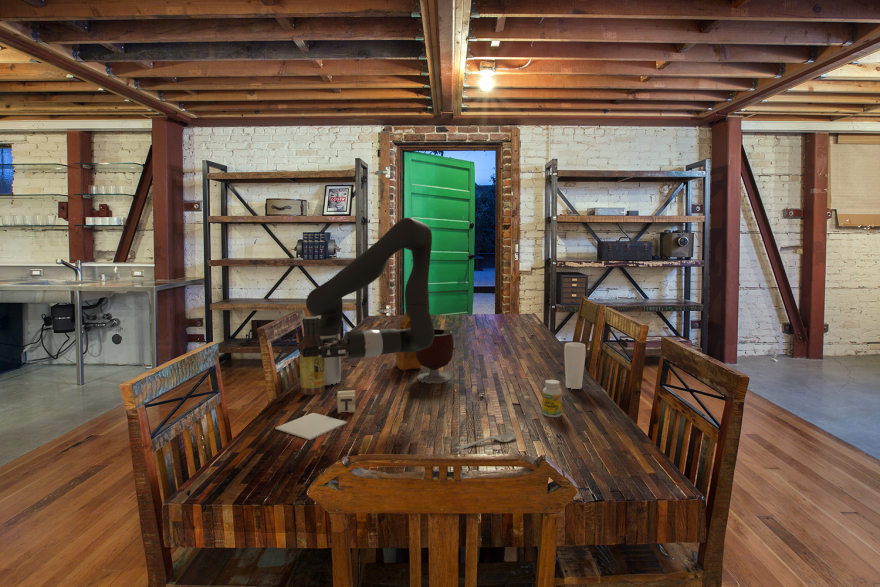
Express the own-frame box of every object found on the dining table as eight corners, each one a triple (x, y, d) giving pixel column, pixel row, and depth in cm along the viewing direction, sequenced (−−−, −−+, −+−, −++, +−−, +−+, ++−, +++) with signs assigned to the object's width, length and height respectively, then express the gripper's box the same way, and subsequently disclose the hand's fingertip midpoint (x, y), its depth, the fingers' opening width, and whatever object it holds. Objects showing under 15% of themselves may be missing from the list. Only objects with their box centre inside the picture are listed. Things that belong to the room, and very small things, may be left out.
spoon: (520, 442, 116) (520, 435, 116) (444, 457, 108) (444, 450, 107) (511, 435, 120) (511, 429, 119) (437, 449, 111) (437, 443, 111)
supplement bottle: (561, 412, 135) (562, 379, 134) (560, 418, 130) (561, 385, 129) (542, 410, 137) (543, 378, 136) (541, 416, 132) (542, 383, 131)
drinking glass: (585, 386, 160) (587, 343, 158) (582, 392, 154) (584, 347, 152) (565, 383, 163) (566, 341, 161) (561, 389, 156) (562, 345, 155)
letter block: (338, 407, 139) (337, 391, 139) (355, 406, 140) (354, 390, 140) (337, 413, 134) (337, 396, 134) (355, 412, 135) (355, 395, 135)
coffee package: (418, 362, 192) (417, 309, 190) (424, 370, 180) (424, 313, 178) (394, 363, 190) (393, 310, 187) (399, 371, 178) (398, 314, 175)
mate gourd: (408, 381, 165) (408, 325, 163) (423, 371, 178) (423, 319, 176) (450, 386, 160) (450, 328, 157) (462, 375, 173) (462, 322, 170)
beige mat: (275, 429, 123) (275, 427, 123) (313, 413, 134) (313, 412, 134) (309, 440, 116) (309, 438, 116) (346, 423, 127) (346, 421, 127)
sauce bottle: (318, 396, 120) (315, 320, 118) (296, 395, 121) (292, 319, 119) (329, 388, 126) (326, 315, 124) (308, 387, 128) (305, 315, 125)
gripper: (356, 326, 134) (295, 331, 128) (370, 334, 121) (303, 341, 115) (357, 351, 135) (297, 358, 128) (371, 363, 122) (305, 371, 115)
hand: (300, 350), depth 121 cm, fingers closed on sauce bottle, 6 cm apart
